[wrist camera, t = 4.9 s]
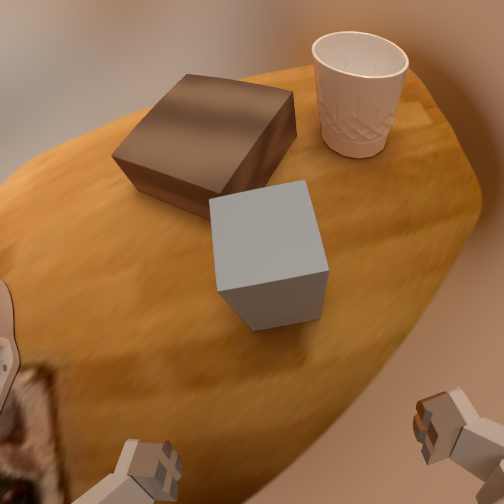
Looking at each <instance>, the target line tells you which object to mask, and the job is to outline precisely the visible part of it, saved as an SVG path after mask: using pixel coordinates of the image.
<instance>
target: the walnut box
mask: <svg viewBox="0 0 504 504" xmlns="http://www.w3.org/2000/svg"><path fill="white" fill-rule="evenodd" d="M296 136H297V131H296V120H295V109H294V98H293V91H288V90H284V89H279V88H274V87H269V86H264V85H259V84H254V83H248V82H242V81H236V80H230V79H223V78H216V77H208V76H200V75H191V74H186V75H185V76H184V77H183V78H182V79H181V80H180V81H179V82H178V83H177V84H176V85H175V86H174V87H173V88H172V89H171V90H170V91H169V92H168V93H167V94H166V95H165V96H164V97H163V98H162V99H161V100H160V101H159V102H158V103H157V104H156V105H155V106H154V107H153V108H152V109H151V110H150V111H149V113H148V114H147V115H146V116H145V117H144V118H143V119H142V120H141V121H140V122H139V123H138V125H137V126H136V127H135V128H134V129H133V130H132V131H131V133H130V134H129V135H128V136H127V137H126V138H125V139H124V141H123V142H122V143H121V144H120V145H119V147H118V148H117V149H116V150H115V151H114V153H113V154H112V155H111V156H112V157H113V159H114V160H115V161H116V163H117V164H118V165H119V167H120V168H121V169H122V171H123V172H124V173H125V175H126V176H127V177H128V178H129V180H130V181H131V182H132V184H133V185H134V186H135V187H136V189H137V190H138V191H141V192H143V193H145V194H148V195H150V196H153V197H155V198H157V199H160V200H162V201H165V202H167V203H169V204H172V205H174V206H176V207H179V208H181V209H184V210H186V211H188V212H191V213H193V214H195V215H198V216H200V217H202V218H205V219H207V220H209V221H211V217H210V204H209V199H212V198H217V197H221V196H226V195H231V194H235V193H240V192H245V191H250V190H254V189H259V188H264V187H265V185H266V184H267V182H268V180H269V179H270V177H271V176H272V174H273V172H274V171H275V169H276V168H277V166H278V164H279V163H280V161H281V160H282V158H283V157H284V155H285V153H286V152H287V150H288V149H289V147H290V146H291V144H292V142H293V141H294V139H295V138H296Z"/></svg>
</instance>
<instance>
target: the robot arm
mask: <svg viewBox="0 0 504 504" xmlns="http://www.w3.org/2000/svg"><path fill="white" fill-rule="evenodd" d="M18 367H19V354H18V350H17V347H16V343H15V340H14V335H13V309H12V302H11V297H10V294H9V291H8V288H7V286H6V285H5V283H4V282H3V281H2V280H1V279H0V411H1V408H2V406H3V403H4V401H5V398H6V396H7V393H8V391H9V388H10V386H11V384H12V381H13V379H14V377H15V374H16V372H17V370H18ZM416 410H417V412H418V413H417V414H416V415H415V416H414V419H413V430H414V433H415V437H416V439H417V441H418V442H420V443H422V444H423V447H422V450H421V452H422V454H423V456H424V459H425V461H426V464H427V465H430V464H433V463H435V462H438V461H441V460H443V459H446V458H448V457H450V459H451V460H453V461H454V462H456V463H457V464H459V465H460V466H461V467H463V468H464V469H466V470H467V471H469V472H471V473H472V474H473V475H475V476H476V477H478V478H479V479H481V480H482V481H484V482H485V484H484V485H483V486H482V488H481V489H480V490H479V492H478V493H477V495H476V499H477V502H478V504H504V426H503V425H500V424H498V423H496V422H494V421H491V420H489V419H487V418H485V417H483V418H481V419H480V417H479V416H478V414H477V412H476V411H475V409H474V408H473V406H472V404H471V403H470V401H469V400H468V398H467V397H466V395H465V394H464V392H463V390H462V389H461V388H460V387H455V388H452V389H450V390H447V391H445V392H441V393H438V394H436V395H433V396H430V397H428V398H425V399H422V400H419V401H418V402H417V405H416ZM172 449H173V445H172V444H171V443H170V441H163V440H142V439H128V440H127V441H126V442H125V444H124V447H123V450H122V452H121V455H120V458H119V460H118V463H117V466H116V468H115V471H114V474H111V473H110V474H109V475H108V476H106V477H105V478H104V479H103V480H101V481H100V482H99V483H97V484H96V485H95V486H94V487H92V488H91V489H90V490H88V491H87V492H86V493H85V494H83V495H82V496H81V497H79V498H78V499H77V500H75V501H74V502H73V503H71V504H153V503H154V502H155V501H154V500H159V501H176V502H177V497H178V492H179V487H180V486H179V485H178V483H177V480H178V479H180V478H181V477H182V472H183V464H182V460H181V457H180V455H179V454H178V453H177V452H175V451H173V450H172Z"/></svg>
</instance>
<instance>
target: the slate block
mask: <svg viewBox="0 0 504 504" xmlns="http://www.w3.org/2000/svg"><path fill="white" fill-rule="evenodd" d="M209 204H210V217H211V228H212V240H213V251H214V262H215V272H216V282H217V291H218V293H219V294H220V295H221V296H222V297H223V298H224V299H225V301H226V302H227V303H228V304H229V305H230V306H231V307H232V308H233V310H234V311H235V312H236V313H237V314H238V315H239V316H240V317H241V319H242V320H243V321H244V322H245V323H246V324H247V325H248V326H249V327H250V329H251V330H252V331H258V330H264V329H269V328H275V327H281V326H286V325H292V324H297V323H302V322H307V321H312V320H317V319H320V317H321V312H322V306H323V301H324V296H325V290H326V285H327V279H328V273H329V268H328V264H327V260H326V256H325V252H324V248H323V244H322V240H321V236H320V233H319V229H318V225H317V221H316V218H315V214H314V210H313V207H312V203H311V199H310V196H309V192H308V189H307V185H306V182H305V180H301V181H295V182H290V183H285V184H279V185H274V186H269V187H264V188H259V189H254V190H250V191H245V192H240V193H235V194H231V195H226V196H221V197H217V198H212V199H209Z"/></svg>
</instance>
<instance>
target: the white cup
mask: <svg viewBox="0 0 504 504" xmlns="http://www.w3.org/2000/svg"><path fill="white" fill-rule="evenodd" d="M312 56H313V65H314V74H315V83H316V94H317V104H318V112H319V116H320V120H321V131H322V139H323V140H324V141H325V143H326V144H327V145H328V146H329V148H330V149H332V150H334V151H335V152H337V153H339V154H341V155H342V156H347V157H352V158H358V159H360V158H366V157H372V156H374V155H376V154H377V153H379V152H380V151H382V150H383V149H384V146H385V143H386V141H387V138H388V134H389V131H390V128H391V127H392V125H393V121H394V118H395V116H396V112H397V108H398V105H399V101H400V97H401V93H402V89H403V85H404V81H405V77H406V73H407V69H408V65H409V62H408V57H407V56H406V54H405V53H404V51H403V50H402V49H401V48H399V47H398V46H397V45H395V44H394V43H392V42H390V41H388V40H386V39H384V38H381V37H379V36H376V35H372V34H368V33H362V32H337V33H332V34H327V35H325V36H323V37H321V38H319V39H318V40H316V41H315V42H314V44H313V46H312Z"/></svg>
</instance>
